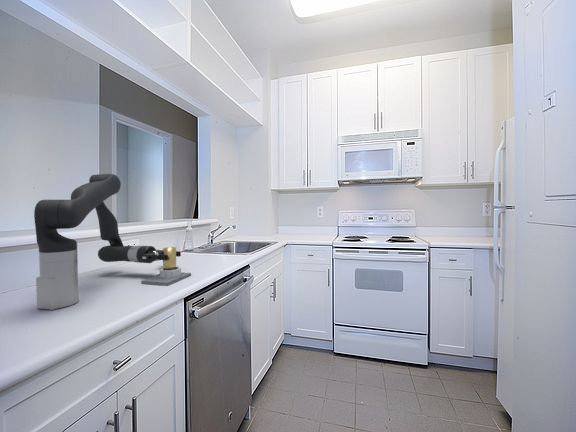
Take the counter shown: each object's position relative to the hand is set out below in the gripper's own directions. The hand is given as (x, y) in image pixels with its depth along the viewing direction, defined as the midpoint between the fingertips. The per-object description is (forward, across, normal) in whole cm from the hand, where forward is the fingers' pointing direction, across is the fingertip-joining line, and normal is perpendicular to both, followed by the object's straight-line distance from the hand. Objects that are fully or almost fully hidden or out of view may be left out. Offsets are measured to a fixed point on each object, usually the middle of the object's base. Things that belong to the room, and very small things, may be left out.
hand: (174, 255), depth 116 cm
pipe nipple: (-2, 0, +9) cm, 9 cm away
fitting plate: (-2, -2, +10) cm, 10 cm away
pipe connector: (-18, +17, +10) cm, 27 cm away
